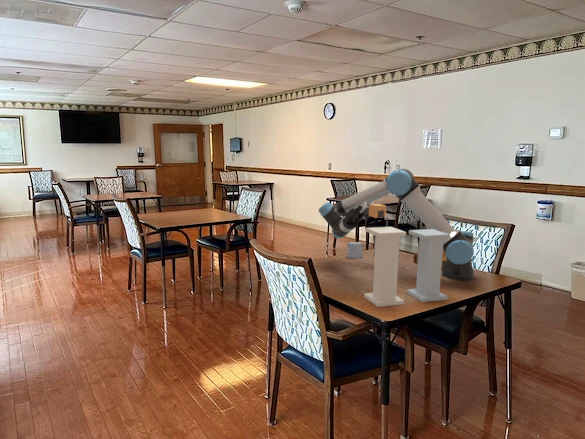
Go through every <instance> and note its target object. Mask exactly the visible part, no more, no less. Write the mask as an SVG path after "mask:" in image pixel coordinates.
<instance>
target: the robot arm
mask: <svg viewBox="0 0 585 439" xmlns="http://www.w3.org/2000/svg"><path fill="white" fill-rule="evenodd" d="M389 195H392V196H395V197H396V198H397V199H398V200H399V201H400V202H402V203H406V205H407V206H408V207H409V208H410V209H411V210H412V212H414V214H415V215H416V216H417V217H418V218H419V219H420V221H421V222H422V223H423V224H424V225H425V226H426V227H427V229H434V230H437V231H440V232H444V233H447V234H450V238H444V241H443V251H444V252H445V253H446V255H447V259H446V262H445V265H444V267H443V269H442V271H441V276H443V277H445V278H448V279H450V280H451V279H452V280H456V281H469V280H470V279H471V280H472V279H475V272H474V267H473V264H472V258H473V257H474V254H475V253H474V252H475V250H474V238H475V237H474V233H473V232H472V231H466V230H465V231H463V230H460V229H455V228H453V226H452V225H451V224H450V223H449V222H448V220H446V219H445V217H444V216H443V215H442V214H441V212H439V210H437V208H436V207H435V206H434V205H433V204H432V202H430V200H429V198H427V197H426V196H425V195H424V193H423V192H422V191H421V185H420V184H419V183H418V182H417V180H415V177H414V174H413V173H412V172H411V171H410V170H408V169H406V168H399V169H395V170H393V171H392V172H390V174H389V175H388V176H387V177H385V178H384V179H383V181H381V182H379V183H376V184H374V185H373V186H369V187H368V188H366V189H364V190H362V191H359V192H357V193H355V194H353V195H351V196H349V197H347V198H344V199H342V200H340V201H339V202H336V203H334V204H332V203H331V202H330V201H327V202H325V203H324V204H322V206H320V207H319V208H318V213H319V214H320V215H321V217H322V218H323V219H324V221H326V223H327V224H328V225H329V227H330V228H331V235H332V236H333V237H334V238H335V239H343V238H344V237H346V236H347V235H348V234H350V233H351V231H352V230H354V229H355V228H356V227H358V225H359V224H360V221H361V222H362V220H366V221H367V220H369V218H370V217H371V216H369V215H368V214H365V213H362V212H363V211H364V210H365V209H366V208H367V206H369V204H375V201H378V200H380V199H382V198H385V197H387V196H389ZM359 205H361V206H359Z"/></svg>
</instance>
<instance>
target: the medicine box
mask: <svg viewBox="0 0 585 439" xmlns="http://www.w3.org/2000/svg"><path fill="white" fill-rule="evenodd" d="M363 250H364V244H363V243H362V242H360V241H356V242H355V241H354V242H353V241H352V242H347V250H346V253H347V254H346V258H348V259H349V258H352V259H362V258H363Z"/></svg>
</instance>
